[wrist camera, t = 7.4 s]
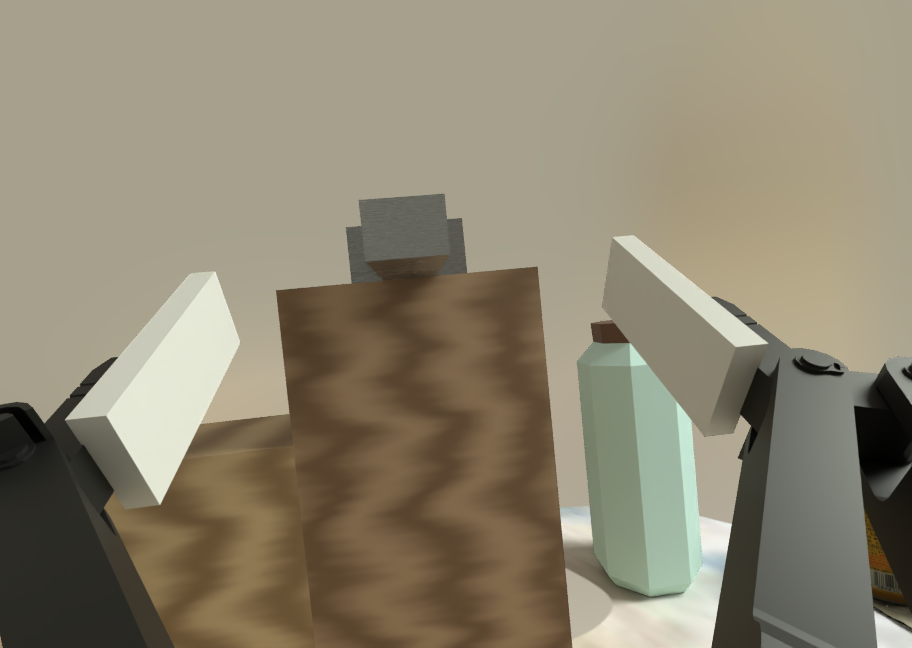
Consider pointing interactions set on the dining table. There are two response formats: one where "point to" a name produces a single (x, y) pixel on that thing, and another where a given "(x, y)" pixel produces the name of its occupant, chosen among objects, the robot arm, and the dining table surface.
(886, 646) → the dining table surface
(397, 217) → the grey t-shaped block
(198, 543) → the stepped stand
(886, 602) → the condiment
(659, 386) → the water bottle
